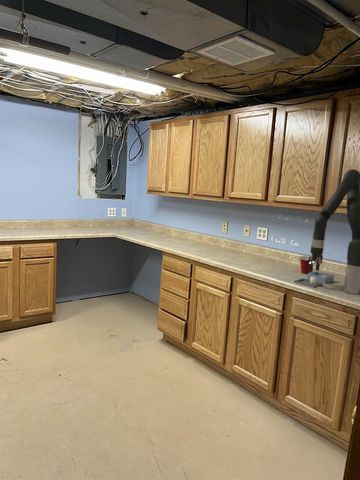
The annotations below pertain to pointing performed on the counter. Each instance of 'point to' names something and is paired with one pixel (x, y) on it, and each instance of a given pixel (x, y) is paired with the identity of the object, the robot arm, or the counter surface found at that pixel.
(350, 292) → the robot arm
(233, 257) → the counter surface
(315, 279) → the grey stone
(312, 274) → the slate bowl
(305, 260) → the plastic cup
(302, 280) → the parts tray
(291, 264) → the counter surface
